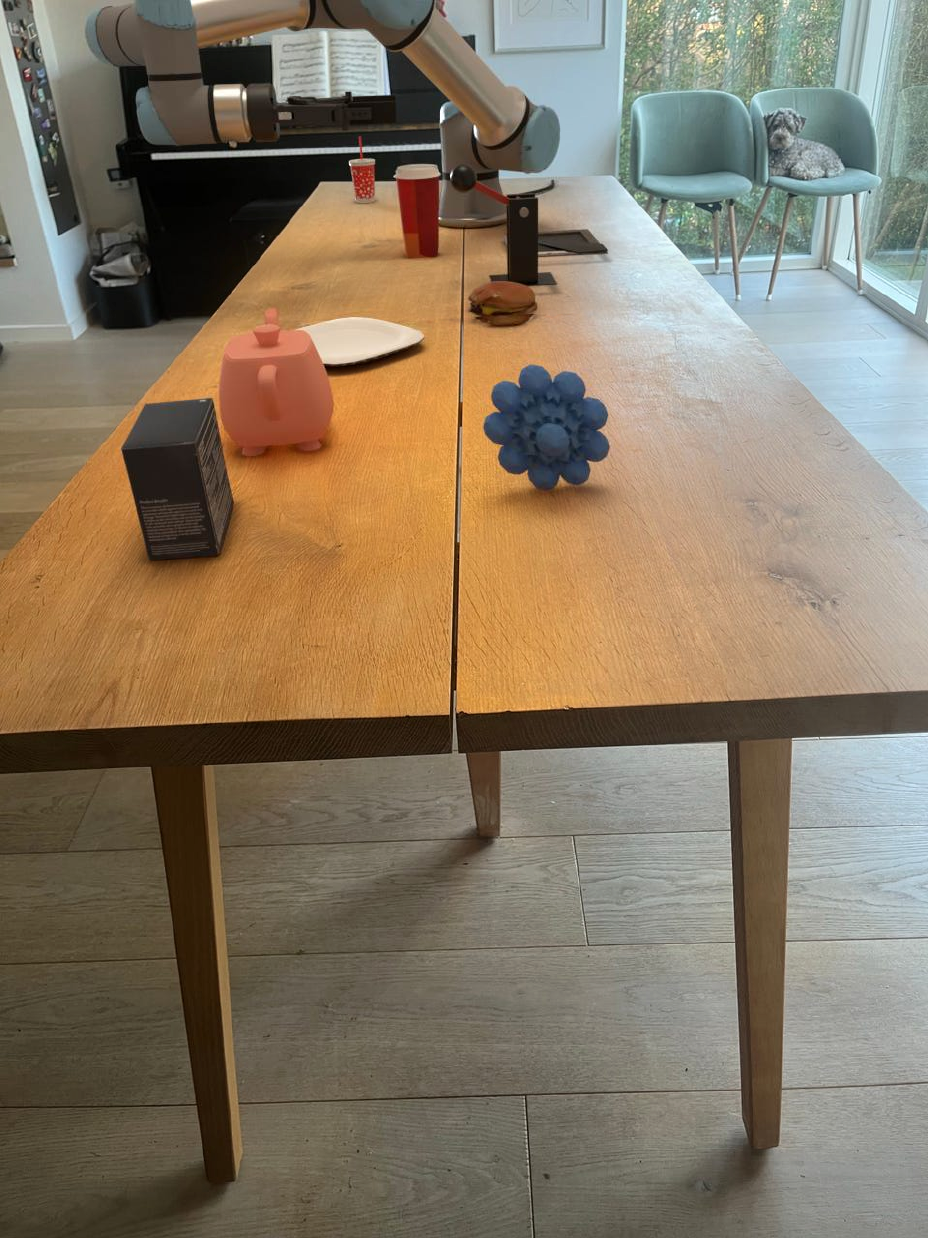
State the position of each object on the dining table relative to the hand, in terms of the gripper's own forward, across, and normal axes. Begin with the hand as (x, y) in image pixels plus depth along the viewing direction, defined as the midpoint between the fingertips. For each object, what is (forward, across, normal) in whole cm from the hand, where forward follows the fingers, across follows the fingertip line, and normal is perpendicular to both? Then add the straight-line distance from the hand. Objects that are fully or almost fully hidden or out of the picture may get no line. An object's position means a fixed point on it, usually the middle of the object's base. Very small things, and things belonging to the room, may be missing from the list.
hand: (396, 108), depth 143 cm
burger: (+14, +16, -27) cm, 34 cm away
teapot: (-14, +59, -27) cm, 66 cm away
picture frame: (+27, -26, -26) cm, 46 cm away
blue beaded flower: (+13, +77, -27) cm, 83 cm away
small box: (-20, +81, -28) cm, 88 cm away
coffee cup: (+3, -29, -26) cm, 39 cm away
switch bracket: (+19, 0, -26) cm, 32 cm away
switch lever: (+13, 0, -14) cm, 19 cm away
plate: (-8, +28, -27) cm, 40 cm away
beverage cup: (-9, -91, -26) cm, 95 cm away
